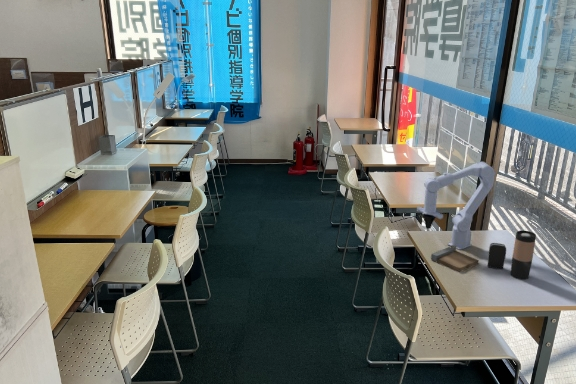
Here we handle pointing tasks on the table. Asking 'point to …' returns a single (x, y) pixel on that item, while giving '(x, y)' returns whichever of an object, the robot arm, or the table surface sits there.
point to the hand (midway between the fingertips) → (428, 228)
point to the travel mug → (522, 254)
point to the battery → (496, 255)
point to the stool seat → (457, 260)
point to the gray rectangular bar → (441, 253)
